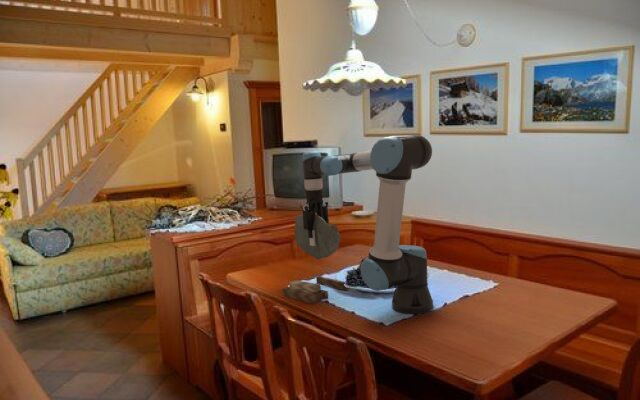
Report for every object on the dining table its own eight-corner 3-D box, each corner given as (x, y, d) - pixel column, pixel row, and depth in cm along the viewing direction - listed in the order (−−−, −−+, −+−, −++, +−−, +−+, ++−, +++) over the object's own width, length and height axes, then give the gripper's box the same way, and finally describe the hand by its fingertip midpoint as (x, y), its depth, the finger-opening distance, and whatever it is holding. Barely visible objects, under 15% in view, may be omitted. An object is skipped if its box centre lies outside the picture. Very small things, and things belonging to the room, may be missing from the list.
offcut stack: (321, 298, 197) (320, 284, 196) (315, 301, 194) (314, 287, 193) (295, 293, 206) (294, 279, 205) (289, 296, 203) (288, 282, 202)
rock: (346, 262, 196) (342, 214, 193) (335, 266, 192) (331, 216, 189) (304, 254, 216) (300, 209, 213) (293, 257, 212) (289, 212, 209)
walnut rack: (349, 289, 206) (348, 282, 205) (313, 304, 191) (312, 296, 190) (319, 282, 218) (318, 276, 218) (283, 295, 203) (282, 288, 203)
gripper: (322, 186, 209) (326, 239, 212) (291, 191, 197) (295, 247, 199) (335, 186, 204) (338, 240, 207) (304, 192, 191) (308, 249, 194)
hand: (317, 243), depth 203 cm, fingers closed on rock, 5 cm apart
